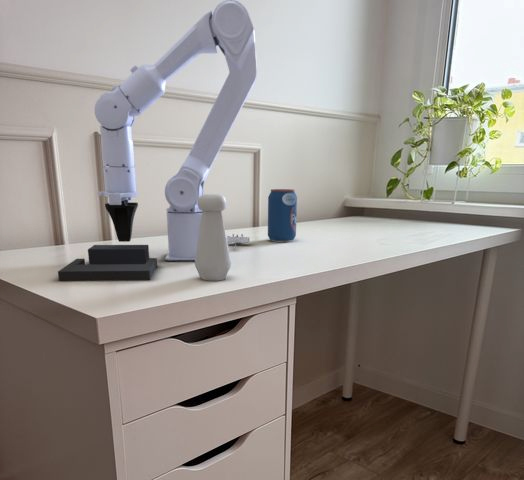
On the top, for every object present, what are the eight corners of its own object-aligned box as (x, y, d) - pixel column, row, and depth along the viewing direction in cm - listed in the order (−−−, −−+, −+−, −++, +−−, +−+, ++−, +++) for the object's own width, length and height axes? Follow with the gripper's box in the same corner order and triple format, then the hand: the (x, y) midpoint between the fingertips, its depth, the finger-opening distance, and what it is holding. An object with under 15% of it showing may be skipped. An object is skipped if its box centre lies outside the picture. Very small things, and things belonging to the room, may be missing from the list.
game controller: (246, 242, 123) (246, 231, 122) (259, 250, 113) (259, 238, 112) (223, 243, 122) (222, 232, 121) (233, 251, 111) (233, 238, 110)
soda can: (298, 242, 125) (299, 190, 121) (269, 242, 124) (270, 190, 120) (292, 238, 131) (294, 189, 127) (265, 238, 130) (266, 189, 126)
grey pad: (149, 260, 99) (148, 244, 98) (146, 265, 93) (144, 249, 92) (95, 260, 98) (94, 244, 97) (89, 266, 92) (87, 249, 92)
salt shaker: (188, 279, 82) (185, 194, 78) (205, 273, 87) (203, 193, 83) (222, 283, 80) (220, 195, 76) (237, 276, 85) (236, 194, 81)
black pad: (157, 266, 93) (156, 258, 92) (150, 280, 82) (149, 270, 81) (77, 267, 92) (76, 258, 91) (58, 281, 80) (57, 271, 80)
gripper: (104, 166, 102) (110, 236, 107) (88, 166, 89) (95, 246, 93) (140, 167, 103) (145, 236, 108) (129, 167, 89) (135, 246, 94)
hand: (124, 241), depth 100 cm, fingers closed
